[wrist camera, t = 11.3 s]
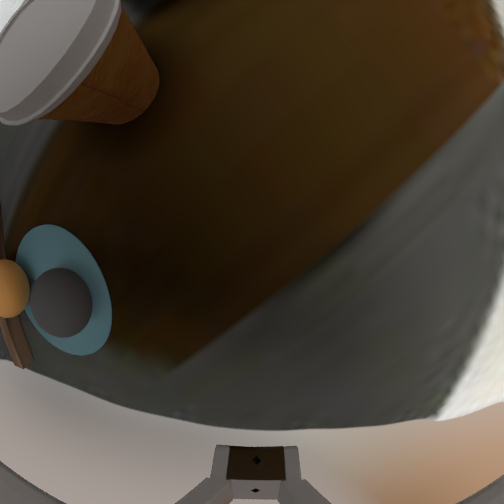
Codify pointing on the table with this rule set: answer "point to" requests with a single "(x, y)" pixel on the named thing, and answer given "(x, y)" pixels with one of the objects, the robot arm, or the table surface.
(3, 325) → the stopper wall
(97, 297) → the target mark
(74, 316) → the dark gray ball
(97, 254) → the table surface
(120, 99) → the disposable coffee cup
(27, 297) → the orange ball
